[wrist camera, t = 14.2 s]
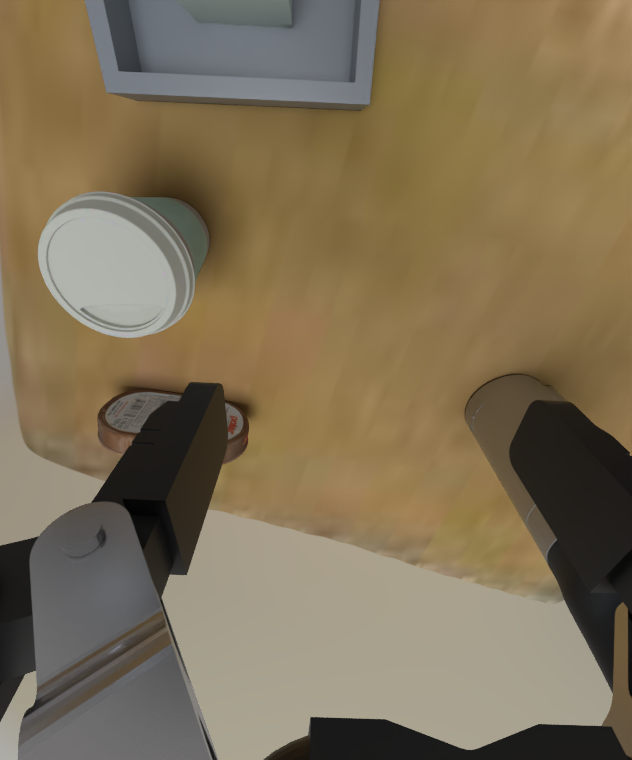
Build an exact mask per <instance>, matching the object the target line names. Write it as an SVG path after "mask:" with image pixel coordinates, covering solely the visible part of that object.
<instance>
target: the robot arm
mask: <svg viewBox="0 0 632 760" xmlns="http://www.w3.org/2000/svg"><path fill="white" fill-rule="evenodd" d="M465 419H466V422H467V424H468V426H469V428H470V430H471V431H472V433H473V435H474V437H475V438H476V440H477V442H478V443H479V445H480V447H481V449H482V451H483V452H484V454H485V456H486V458H487V459H488V461H489V463H490V465H491V466H492V468H493V470H494V472H495V473H496V475H497V477H498V478H499V480H500V482H501V484H502V485H503V487H504V489H505V491H506V492H507V494H508V496H509V498H510V499H511V501H512V503H513V504H514V506H515V508H516V510H517V511H518V513H519V515H520V517H521V518H522V520H523V522H524V524H525V525H526V527H527V529H528V530H529V532H530V534H531V535H532V537H533V539H534V541H535V542H536V544H537V546H538V548H539V549H540V551H541V553H542V555H543V556H544V558H545V560H546V562H547V563H548V565H549V567H550V569H551V571H552V572H553V574H554V576H555V578H556V580H557V582H558V584H559V586H560V589H561V592H562V594H563V597H564V600H565V602H566V604H567V606H568V608H569V610H570V612H571V614H572V616H573V618H574V620H575V622H576V623H577V625H578V627H579V629H580V631H581V633H582V634H583V636H584V638H585V640H586V642H587V644H588V646H589V648H590V649H591V651H592V653H593V655H594V657H595V659H596V661H597V663H598V665H599V667H600V669H601V671H602V672H603V674H604V677H605V679H606V681H607V682H608V685H609V687H610V689H611V691H612V693H613V699H612V705H611V708H610V711H609V713H608V715H607V717H606V719H605V721H604V722H603V724H602V726H577V725H546V724H538V725H536V726H533V727H531V728H528V729H526V730H523V731H521V732H518V733H516V734H513V735H511V736H508V737H506V738H503V739H501V740H498V741H496V742H493V743H491V744H488V745H486V746H483V747H481V748H478V749H475V750H465V749H461V748H458V747H456V746H453V745H450V744H448V743H445V742H443V741H440V740H438V739H435V738H432V737H430V736H427V735H425V734H422V733H419V732H417V731H414V730H412V729H409V728H406V727H404V726H401V725H398V724H396V723H393V722H391V721H388V720H385V719H383V720H382V719H352V718H320V717H311V719H310V726H309V734H308V736H305V737H303V738H300V739H297V740H295V741H293V742H290V743H288V744H287V745H285V746H283V747H281V748H280V749H278V750H276V751H274V752H273V753H271V754H270V755H269V756H268V757H266V758H265V759H264V760H632V456H630V455H629V454H630V452H629V451H627V450H626V449H625V448H624V447H623V446H622V445H621V444H620V443H619V442H618V441H617V440H616V439H615V438H614V437H613V436H611V435H610V434H608V433H607V432H605V431H603V430H602V429H600V428H599V427H597V426H596V425H594V424H593V423H592V422H591V421H590V420H589V419H588V418H587V417H586V416H585V415H584V414H583V413H582V412H581V411H580V410H579V409H578V408H577V407H576V406H575V405H574V404H572V403H571V402H568V401H566V400H565V399H564V398H563V397H562V396H561V395H560V394H559V393H558V392H557V391H556V390H555V389H554V388H553V387H552V386H544V385H542V384H541V383H540V382H539V381H538V380H537V379H535V378H533V377H530V376H526V375H510V376H504V377H501V378H498V379H495V380H493V381H491V382H489V383H487V384H486V385H484V386H483V387H481V388H480V389H479V390H478V391H477V392H476V393H475V394H474V395H473V396H472V398H471V399H470V400H469V402H468V405H467V407H466V411H465ZM227 444H228V425H227V416H226V408H225V399H224V390H223V386H222V384H219V383H199V382H191V383H189V384H188V386H187V388H186V389H185V391H184V393H183V395H182V396H181V398H180V400H179V401H167V402H166V403H164V404H163V405H161V406H160V407H159V408H157V409H156V410H155V411H153V412H152V413H151V414H150V415H149V417H148V418H147V420H146V421H145V423H144V424H143V426H142V427H141V429H140V432H138V433H137V435H136V436H135V438H134V439H133V441H132V445H131V446H129V447H128V448H127V450H126V451H125V453H124V454H123V456H122V457H121V459H120V461H119V462H118V464H117V465H116V467H115V468H114V470H113V471H112V473H111V474H110V476H109V477H108V479H107V480H106V482H105V483H104V485H103V486H102V488H101V489H100V491H99V492H98V494H97V495H96V497H95V498H94V500H93V501H92V502H91V503H89V504H85V505H82V506H79V507H77V508H75V509H73V510H70V511H69V512H67V513H65V514H64V515H62V516H60V517H59V518H57V519H56V520H55V521H53V522H52V523H51V524H50V525H49V526H48V527H47V528H46V529H45V530H44V531H43V532H42V533H41V534H40V536H38V537H35V538H31V539H28V540H23V541H19V542H14V543H10V544H6V545H1V546H0V721H1V719H2V718H3V715H4V714H5V712H6V710H7V708H8V706H9V704H10V702H11V700H12V698H13V696H14V695H15V693H16V691H17V689H18V687H19V685H20V683H21V681H22V679H23V677H24V675H25V674H27V673H30V672H33V671H36V677H37V695H36V700H35V703H34V705H33V707H31V708H29V709H28V710H27V711H26V713H25V714H24V717H23V719H22V723H21V727H20V733H19V744H18V760H218V758H217V755H216V752H215V749H214V746H213V743H212V740H211V738H210V735H209V732H208V729H207V726H206V723H205V721H204V718H203V715H202V712H201V709H200V707H199V704H198V701H197V698H196V696H195V693H194V690H193V687H192V684H191V681H190V678H189V676H188V673H187V670H186V667H185V664H184V661H183V658H182V656H181V652H180V650H179V646H178V644H177V641H176V638H175V635H174V632H173V629H172V626H171V623H170V620H169V618H168V615H167V612H166V609H165V606H164V603H163V600H162V594H163V591H164V588H165V586H166V583H167V580H168V577H169V575H170V574H173V575H187V572H188V569H189V566H190V563H191V560H192V557H193V554H194V550H195V547H196V544H197V541H198V538H199V535H200V531H201V529H202V525H203V522H204V519H205V516H206V513H207V510H208V507H209V504H210V501H211V497H212V494H213V491H214V488H215V485H216V482H217V479H218V476H219V472H220V469H221V466H222V463H223V460H224V457H225V454H226V450H227Z"/></svg>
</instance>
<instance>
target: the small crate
mask: <svg viewBox="0 0 632 760" xmlns="http://www.w3.org/2000/svg"><path fill="white" fill-rule="evenodd" d="M178 1H179V2H180V3H181V4H182V5H183V6H184V8H185V9H186V10H187V11H188V12H189V13H190V14H191V15H192V17H193V18H194V19H195V20H196V21H197V22H201V23H217V24H233V25H249V26H265V27H281V28H292V0H178Z"/></svg>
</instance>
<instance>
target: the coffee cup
mask: <svg viewBox="0 0 632 760" xmlns="http://www.w3.org/2000/svg"><path fill="white" fill-rule="evenodd" d="M209 244H210V239H209V232H208V229H207V226H206V224H205V222H204V220H203V218H202V217H201V216H200V214H199V213H198V212H197V211H196V210H195V209H194V208H193V207H192V206H190V205H189V204H187V203H186V202H184V201H182V200H179V199H176V198H170V197H127V196H124V195H120V194H116V193H111V192H89V193H84V194H81V195H78V196H76V197H74V198H72V199H70V200H68V201H67V202H66V203H64V204H63V205H61V206H60V207H59V208H58V209H57V210H56V211H55V212H54V213H53V214H52V216H51V217H50V219H49V221H48V222H47V225H46V227H45V228H44V230H43V232H42V234H41V237H40V240H39V245H38V261H39V266H40V270H41V273H42V276H43V279H44V281H45V283H46V285H47V287H48V289H49V290H50V292H51V293H52V295H53V296H54V298H55V299H56V300H57V301H58V303H59V304H60V305H61V306H62V307H63V308H64V309H65V310H66V311H67V312H68V313H69V314H71V315H72V316H73V317H74V318H75V319H77V320H78V321H80V322H81V323H83V324H84V325H86V326H88V327H90V328H92V329H94V330H96V331H98V332H101V333H104V334H107V335H111V336H116V337H124V338H134V337H141V336H145V335H150V334H154V333H158V332H160V331H163V330H165V329H167V328H168V327H170V326H171V325H173V324H175V323H176V322H177V321H179V320H180V319H181V318H182V317H183V316H184V314H185V313H186V312H187V310H188V308H189V306H190V304H191V302H192V299H193V295H194V289H195V281H196V279H197V276H198V274H199V272H200V269H201V267H202V265H203V262H204V260H205V258H206V255H207V253H208V250H209Z"/></svg>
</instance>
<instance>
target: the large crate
mask: <svg viewBox="0 0 632 760" xmlns="http://www.w3.org/2000/svg"><path fill="white" fill-rule="evenodd" d="M379 1H380V0H292V28H281V27H265V26H249V25H233V24H217V23H201V22H197V21H196V20H195V19H194V18H193V17H192V15H191V14H190V13H189V12H188V11H187V10H186V9H185V8H184V6H183V5H182V4H181V3H180V2H179V1H178V0H85V3H86V8H87V12H88V16H89V20H90V25H91V29H92V33H93V37H94V42H95V46H96V50H97V54H98V58H99V63H100V67H101V71H102V75H103V80H104V84H105V88H106V92H107V93H110V94H114V95H118V96H122V97H125V98H129V99H133V100H137V101H157V102H179V103H201V104H223V105H245V106H267V107H289V108H311V109H333V110H355V111H361V110H362V109H364V108H365V107H367V106H368V105H370V95H371V85H372V74H373V64H374V53H375V43H376V32H377V22H378V11H379Z"/></svg>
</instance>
